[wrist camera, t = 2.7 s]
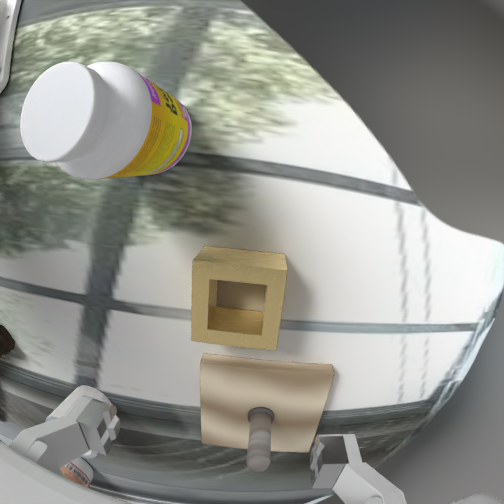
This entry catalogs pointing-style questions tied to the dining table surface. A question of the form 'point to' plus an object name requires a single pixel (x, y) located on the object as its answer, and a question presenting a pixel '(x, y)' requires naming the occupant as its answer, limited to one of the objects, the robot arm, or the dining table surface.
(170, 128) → the supplement bottle
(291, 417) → the post stand
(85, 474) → the fruit juice
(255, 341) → the tan square frame block
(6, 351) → the hand tool
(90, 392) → the shot glass
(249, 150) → the dining table surface
